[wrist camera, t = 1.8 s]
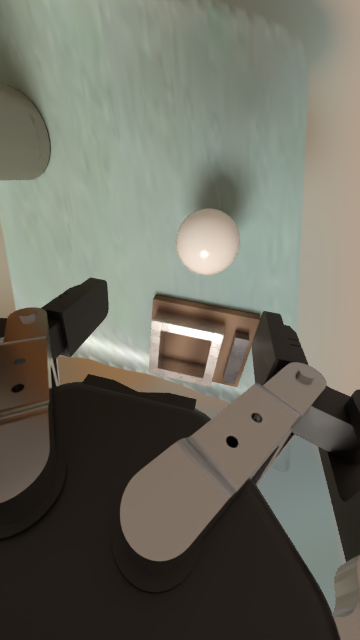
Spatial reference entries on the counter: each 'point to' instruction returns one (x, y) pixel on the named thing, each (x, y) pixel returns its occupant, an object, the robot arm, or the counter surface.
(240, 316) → the jig
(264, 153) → the counter surface
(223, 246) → the lightbulb
